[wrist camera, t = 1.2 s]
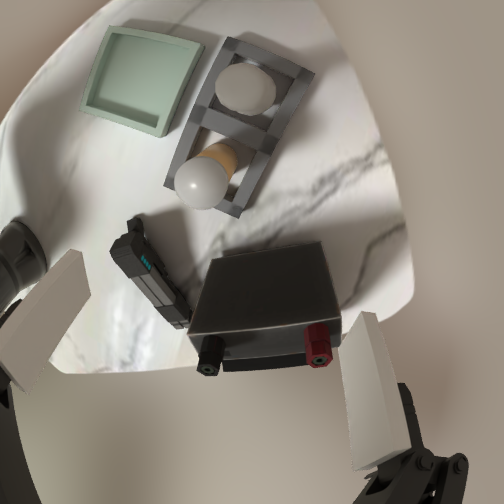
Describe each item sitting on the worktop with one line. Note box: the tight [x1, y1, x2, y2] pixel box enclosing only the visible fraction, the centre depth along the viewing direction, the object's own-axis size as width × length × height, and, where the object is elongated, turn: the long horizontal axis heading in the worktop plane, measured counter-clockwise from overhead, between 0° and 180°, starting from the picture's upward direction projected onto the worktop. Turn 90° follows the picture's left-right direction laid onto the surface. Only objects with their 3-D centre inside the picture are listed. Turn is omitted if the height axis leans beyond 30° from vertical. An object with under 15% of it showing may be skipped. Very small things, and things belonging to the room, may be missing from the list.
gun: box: [109, 218, 193, 329], centre depth 42 cm, size 4×20×10 cm, turn 17°
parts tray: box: [79, 25, 205, 138], centre depth 27 cm, size 14×13×2 cm
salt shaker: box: [215, 63, 276, 116], centre depth 23 cm, size 6×6×13 cm
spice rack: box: [163, 37, 315, 219], centre depth 27 cm, size 11×21×10 cm, turn 155°
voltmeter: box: [187, 241, 342, 376], centre depth 36 cm, size 16×16×20 cm
